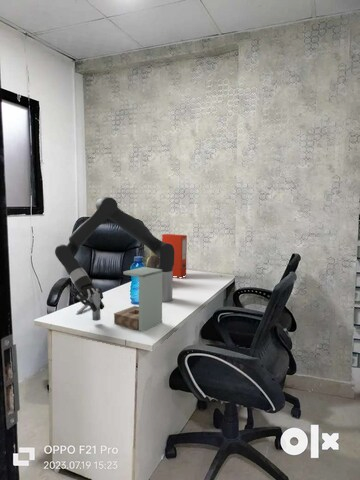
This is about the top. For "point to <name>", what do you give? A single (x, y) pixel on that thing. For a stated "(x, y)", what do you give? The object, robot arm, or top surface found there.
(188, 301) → the top surface
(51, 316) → the top surface
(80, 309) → the caliper
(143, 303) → the pale green block
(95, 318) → the steel peg
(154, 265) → the decorative clock
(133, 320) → the socket block
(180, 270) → the file binder
